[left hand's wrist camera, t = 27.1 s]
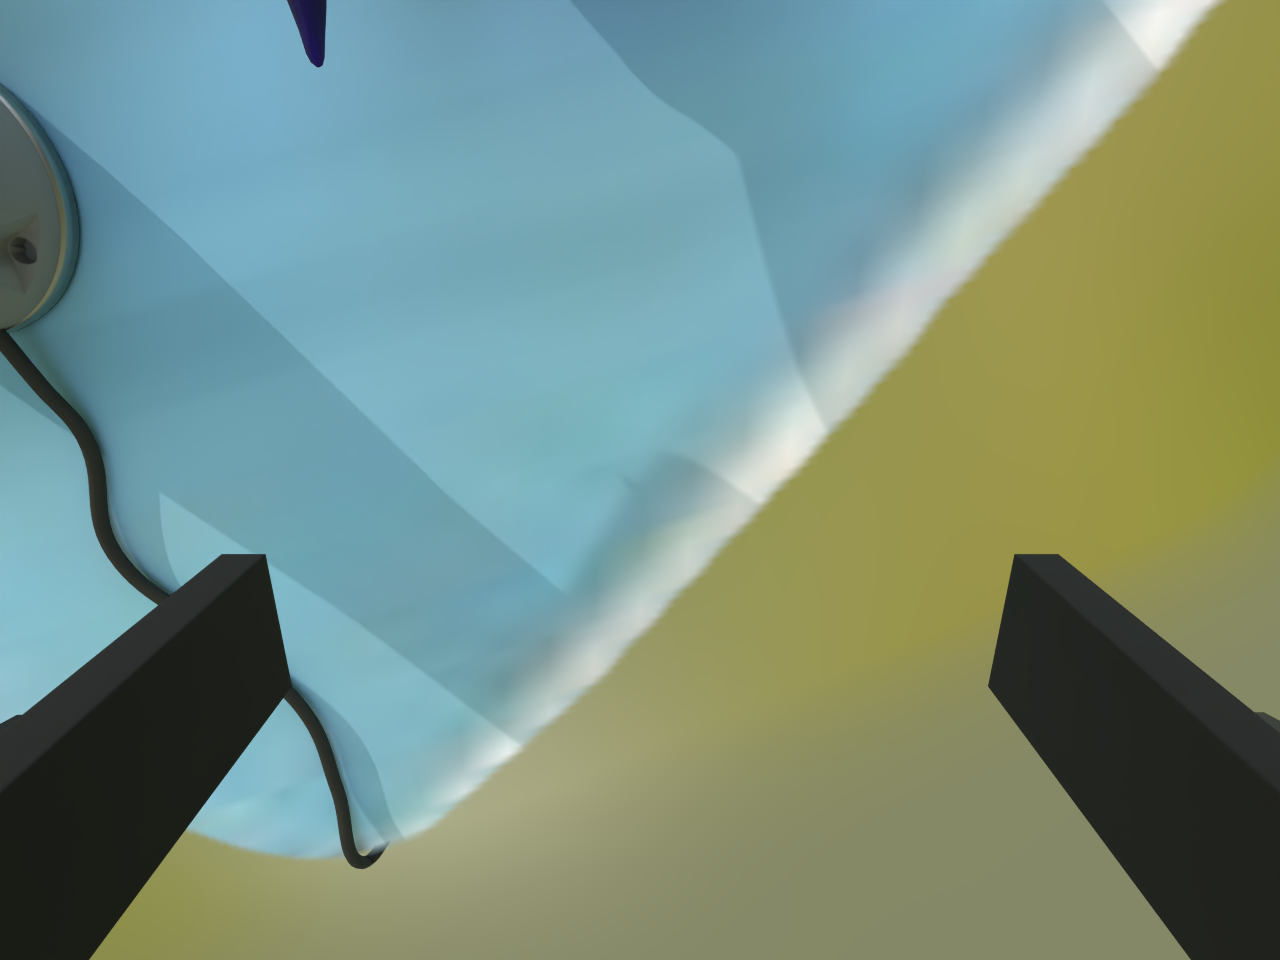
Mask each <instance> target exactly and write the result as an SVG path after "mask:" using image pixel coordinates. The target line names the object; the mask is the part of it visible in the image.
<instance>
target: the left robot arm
mask: <svg viewBox="0 0 1280 960" xmlns="http://www.w3.org/2000/svg"><path fill="white" fill-rule="evenodd" d="M78 247H79V222H78V213H77V207H76V202H75V198H74V194H73V190H72V187H71V184H70V181H69V178H68V176H67V173H66V171H65V168H64V166H63V164H62V162H61V159H60V157H59V155H58V154H57V152H56V150H55V148H54V146H53V144H52V143H51V141H50V140H49V138H48V137H47V135H46V133H45V132H44V130H43V129H42V128H41V126H40V125H39V124H38V122H37V121H36V120H35V118H34V117H33V116H32V114H31V113H30V112H29V111H28V110H27V109H26V108H25V106H24V105H23V104H22V103H21V102H20V101H19V100H18V99H17V98H16V97H15V96H14V95H13V94H12V93H11V92H10V91H9V90H8V89H6V88H5V87H4V86H3V85H2V84H1V83H0V351H1V352H2V354H3V355H4V356H5V357H6V358H7V360H8V361H9V362H10V363H11V364H12V366H13V367H14V368H15V369H16V370H17V372H18V373H19V374H20V375H21V376H22V377H23V379H24V380H25V381H26V382H27V383H28V385H29V386H30V387H31V388H32V389H33V390H34V391H35V393H36V394H37V395H38V396H39V397H40V398H41V399H42V400H43V401H44V402H45V403H46V404H47V405H48V406H49V407H50V408H51V409H52V410H53V411H54V412H55V413H56V414H57V415H58V416H59V417H60V418H61V419H62V420H63V421H64V423H65V424H66V425H67V426H68V427H69V429H70V430H71V432H72V433H73V435H74V436H75V438H76V440H77V442H78V444H79V446H80V448H81V450H82V453H83V456H84V459H85V463H86V467H87V473H88V481H89V495H90V508H91V516H92V521H93V526H94V529H95V533H96V536H97V538H98V540H99V543H100V545H101V547H102V549H103V550H104V552H105V554H106V556H107V557H108V559H109V560H110V561H111V563H112V564H113V565H114V567H115V568H116V569H117V570H118V571H119V573H120V574H121V575H122V576H123V577H124V578H125V579H126V580H127V581H128V582H129V583H130V584H131V585H132V586H134V587H135V588H136V589H137V590H138V591H139V592H141V593H142V594H143V595H145V596H146V597H147V598H149V599H150V600H152V601H153V602H154V603H156V604H157V605H158V606H157V607H156V608H154V609H153V610H152V611H151V612H150V613H148V614H147V615H146V616H145V617H143V618H142V619H141V620H140V621H138V622H137V623H136V624H135V625H133V626H132V627H131V628H130V629H128V630H127V631H126V632H125V633H123V634H122V635H121V636H120V637H118V638H117V639H116V640H115V641H114V642H112V643H111V644H110V645H109V646H107V647H106V648H105V649H104V650H102V651H101V652H100V653H99V654H97V655H96V656H95V657H94V658H92V659H91V660H90V661H89V662H87V663H86V664H85V665H84V666H83V667H81V668H80V669H79V670H78V671H76V672H75V673H74V674H73V675H71V676H70V677H69V678H68V679H66V680H65V681H64V682H63V683H61V684H60V685H59V686H58V687H56V688H55V689H54V690H53V691H52V692H50V693H49V694H48V695H47V696H45V697H44V698H43V699H42V700H40V701H39V702H38V703H37V704H35V705H34V706H33V707H32V708H30V709H29V710H28V711H27V712H25V713H24V714H23V715H16V716H14V717H12V718H10V719H8V720H7V721H5V722H3V723H1V724H0V960H89V959H90V958H91V956H92V955H93V954H94V952H95V951H96V950H97V948H98V947H99V946H100V944H101V943H102V942H103V940H104V939H105V937H106V936H107V935H108V933H109V932H110V931H111V929H112V928H113V927H114V925H115V924H116V923H117V921H118V920H119V919H120V917H121V916H122V915H123V913H124V912H125V911H126V909H127V908H128V907H129V905H130V904H131V902H132V901H133V900H134V898H135V897H136V896H137V894H138V893H139V892H140V890H141V889H142V888H143V886H144V885H145V884H146V882H147V881H148V880H149V878H150V877H151V876H152V874H153V873H154V871H155V870H156V869H157V867H158V866H159V865H160V863H161V862H162V861H163V859H164V858H165V857H166V855H167V854H168V853H169V851H170V850H171V848H172V847H173V846H174V844H175V843H176V842H177V840H178V839H179V838H180V836H181V835H182V834H183V832H184V831H185V830H186V828H187V827H188V826H189V824H190V823H191V822H192V820H193V819H194V818H195V816H196V815H197V814H198V812H199V811H200V809H201V808H202V807H203V805H204V804H205V803H206V801H207V800H208V799H209V797H210V796H211V795H212V793H213V792H214V791H215V789H216V788H217V787H218V785H219V784H220V783H221V781H222V780H223V778H224V777H225V776H226V774H227V773H228V772H229V770H230V769H231V768H232V766H233V765H234V764H235V762H236V761H237V760H238V758H239V757H240V756H241V754H242V753H243V752H244V750H245V749H246V747H247V746H248V745H249V743H250V742H251V741H252V739H253V738H254V737H255V735H256V734H257V733H258V731H259V730H260V729H261V727H262V726H263V725H264V723H265V722H266V721H267V719H268V718H269V716H270V715H271V714H272V712H273V711H274V710H275V708H276V707H277V706H278V704H279V703H280V702H281V700H282V699H283V698H284V699H285V700H286V701H287V702H288V703H289V704H290V705H291V706H292V708H293V709H294V710H295V711H296V713H297V714H298V715H299V717H300V718H301V719H302V721H303V722H304V724H305V726H306V727H307V729H308V731H309V733H310V735H311V737H312V739H313V741H314V743H315V746H316V748H317V751H318V754H319V757H320V760H321V763H322V766H323V770H324V773H325V776H326V779H327V782H328V785H329V788H330V791H331V794H332V797H333V800H334V804H335V809H336V814H337V820H338V828H339V835H340V841H341V846H342V850H343V853H344V856H345V857H346V859H347V861H348V863H349V864H350V865H351V866H353V867H355V868H358V869H365V868H367V867H369V866H371V865H372V864H374V863H375V862H376V861H377V860H378V859H379V858H380V856H381V855H382V854H383V852H384V851H385V849H386V847H387V846H388V844H387V845H384V846H381V847H378V848H374V849H372V850H371V851H370V852H369V853H368V854H367V855H366V856H361V855H360V854H359V853H358V852H357V850H356V847H355V843H354V839H353V833H352V826H351V818H350V812H349V806H348V801H347V797H346V793H345V790H344V787H343V784H342V781H341V778H340V775H339V772H338V769H337V765H336V762H335V759H334V755H333V752H332V749H331V746H330V743H329V741H328V738H327V736H326V733H325V731H324V729H323V727H322V725H321V724H320V722H319V720H318V718H317V717H316V715H315V714H314V712H313V711H312V709H311V708H310V707H309V705H308V704H307V703H306V702H305V700H304V699H303V698H302V697H301V696H300V694H299V693H298V692H297V691H296V690H295V689H294V688H293V687H292V684H291V679H290V674H289V669H288V664H287V659H286V654H285V649H284V644H283V639H282V634H281V629H280V624H279V619H278V614H277V609H276V604H275V599H274V594H273V589H272V584H271V579H270V574H269V569H268V564H267V559H266V554H221V555H220V556H219V557H218V558H216V559H215V560H214V561H213V562H212V563H210V564H209V565H208V566H207V567H205V568H204V569H203V570H202V571H200V572H199V573H198V574H197V575H195V576H194V577H193V578H192V579H190V580H189V581H188V582H187V583H185V584H184V585H183V586H182V587H181V588H179V589H178V590H177V591H176V592H174V593H173V594H172V595H171V596H170V595H168V594H167V593H165V592H164V591H163V590H161V589H160V588H158V587H157V586H156V585H154V584H153V583H152V582H151V581H149V580H148V579H147V578H146V577H145V576H144V575H142V574H141V573H140V572H139V571H138V570H137V569H136V568H135V566H134V565H133V564H132V563H131V562H130V561H129V559H128V558H127V557H126V555H125V554H124V553H123V551H122V550H121V548H120V546H119V545H118V543H117V541H116V539H115V536H114V534H113V532H112V528H111V525H110V520H109V515H108V505H107V488H106V476H105V469H104V464H103V460H102V456H101V453H100V450H99V447H98V445H97V443H96V441H95V438H94V436H93V434H92V433H91V431H90V429H89V427H88V426H87V424H86V423H85V422H84V420H83V419H82V418H81V416H80V415H79V414H78V413H77V412H76V411H75V409H74V408H73V407H72V406H71V405H70V404H69V403H68V402H67V401H66V400H65V399H64V398H63V397H62V396H61V395H60V394H59V393H58V392H57V391H56V390H55V389H54V388H53V387H52V386H51V384H50V383H49V382H48V381H47V380H46V379H45V377H44V376H43V375H42V374H41V373H40V371H39V370H38V369H37V368H36V367H35V365H34V364H33V363H32V362H31V360H30V359H29V358H28V357H27V356H26V354H25V353H24V352H23V351H22V349H21V348H20V347H19V346H18V345H17V343H16V342H15V341H14V340H13V338H12V337H11V336H10V335H9V334H8V333H9V332H12V331H15V330H18V329H21V328H23V327H25V326H27V325H30V324H32V323H33V322H35V321H36V320H38V319H39V318H41V317H42V316H44V315H45V314H46V313H47V312H48V311H49V310H50V309H51V308H52V307H53V306H54V305H55V304H56V303H57V302H58V300H59V299H60V298H61V296H62V295H63V293H64V292H65V290H66V288H67V286H68V284H69V282H70V280H71V277H72V274H73V272H74V269H75V264H76V260H77V255H78ZM988 687H989V688H990V689H991V691H992V692H993V694H994V695H995V696H996V698H997V699H998V700H999V702H1000V703H1001V704H1002V706H1003V707H1004V708H1005V710H1006V711H1007V712H1008V714H1009V715H1010V716H1011V718H1012V719H1013V721H1014V722H1015V723H1016V724H1017V726H1018V727H1019V729H1020V730H1021V731H1022V733H1023V734H1024V735H1025V737H1026V738H1027V739H1028V741H1029V742H1030V743H1031V745H1032V746H1033V747H1034V749H1035V750H1036V751H1037V753H1038V754H1039V756H1040V757H1041V758H1042V760H1043V761H1044V762H1045V764H1046V765H1047V766H1048V768H1049V769H1050V770H1051V772H1052V773H1053V774H1054V776H1055V777H1056V778H1057V780H1058V781H1059V783H1060V784H1061V785H1062V787H1063V788H1064V789H1065V791H1066V792H1067V793H1068V795H1069V796H1070V797H1071V799H1072V800H1073V801H1074V803H1075V804H1076V805H1077V807H1078V808H1079V809H1080V811H1081V812H1082V813H1083V815H1084V816H1085V818H1086V819H1087V820H1088V822H1089V823H1090V824H1091V826H1092V827H1093V828H1094V830H1095V831H1096V832H1097V834H1098V835H1099V836H1100V838H1101V839H1102V840H1103V842H1104V843H1105V844H1106V846H1107V847H1108V848H1109V850H1110V851H1111V853H1112V854H1113V855H1114V857H1115V858H1116V859H1117V861H1118V862H1119V863H1120V865H1121V866H1122V867H1123V869H1124V870H1125V871H1126V873H1127V874H1128V876H1129V877H1130V878H1131V879H1132V881H1133V882H1134V884H1135V885H1136V886H1137V888H1138V889H1139V890H1140V892H1141V893H1142V894H1143V896H1144V897H1145V898H1146V900H1147V901H1148V902H1149V904H1150V905H1151V906H1152V908H1153V909H1154V911H1155V912H1156V913H1157V915H1158V916H1159V917H1160V919H1161V920H1162V921H1163V923H1164V924H1165V925H1166V927H1167V928H1168V929H1169V931H1170V932H1171V933H1172V935H1173V936H1174V938H1175V939H1176V940H1177V942H1178V943H1179V944H1180V946H1181V947H1182V948H1183V950H1184V951H1185V952H1186V954H1187V955H1188V956H1189V958H1190V959H1191V960H1280V721H1279V720H1277V719H1275V718H1273V717H1272V716H1270V715H1268V714H1266V713H1264V712H1253V711H1252V710H1251V709H1250V708H1248V707H1247V706H1246V705H1245V704H1243V703H1242V702H1241V701H1240V700H1238V699H1237V698H1236V697H1235V696H1233V695H1232V694H1231V693H1230V692H1228V691H1227V690H1226V689H1225V688H1224V687H1222V686H1221V685H1220V684H1219V683H1217V682H1216V681H1215V680H1214V679H1212V678H1211V677H1210V676H1209V675H1207V674H1206V673H1205V672H1204V671H1202V670H1201V669H1200V668H1199V667H1197V666H1196V665H1195V664H1194V663H1192V662H1191V661H1190V660H1189V659H1188V658H1186V657H1185V656H1184V655H1183V654H1181V653H1180V652H1179V651H1178V650H1176V649H1175V648H1174V647H1173V646H1171V645H1170V644H1169V643H1168V642H1166V641H1165V640H1164V639H1163V638H1161V637H1160V636H1159V635H1158V634H1157V633H1155V632H1154V631H1153V630H1152V629H1150V628H1149V627H1148V626H1147V625H1145V624H1144V623H1143V622H1142V621H1140V620H1139V619H1138V618H1137V617H1135V616H1134V615H1133V614H1132V613H1130V612H1129V611H1128V610H1127V609H1126V608H1124V607H1123V606H1122V605H1121V604H1119V603H1118V602H1117V601H1116V600H1114V599H1113V598H1112V597H1111V596H1109V595H1108V594H1107V593H1106V592H1104V591H1103V590H1102V589H1101V588H1099V587H1098V586H1097V585H1096V584H1094V583H1093V582H1092V581H1091V580H1090V579H1088V578H1087V577H1086V576H1085V575H1083V574H1082V573H1081V572H1080V571H1078V570H1077V569H1076V568H1075V567H1073V566H1072V565H1071V564H1070V563H1068V562H1067V561H1066V560H1065V559H1063V558H1062V557H1061V556H1060V555H1059V554H1015V555H1014V560H1013V565H1012V570H1011V574H1010V579H1009V585H1008V589H1007V595H1006V599H1005V604H1004V609H1003V614H1002V620H1001V624H1000V629H999V634H998V639H997V644H996V649H995V654H994V659H993V664H992V669H991V675H990V679H989V684H988Z"/></svg>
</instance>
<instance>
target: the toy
mask: <svg viewBox="0 0 1280 960" xmlns="http://www.w3.org/2000/svg"><path fill="white" fill-rule="evenodd" d="M287 1H288V4H289V6H290V9H291V11H292V14H293V17H294V19H295V22H296V24H297V27H298V29H299V32H300V35H301V39H302V42H303V45H304V48H305V51H306V54H307V56H308V58H309V60H310V61H311V63H313V64H314V65H315V66H316V67H321V66H322V65H323V62H324V58H325V27H326V0H287Z"/></svg>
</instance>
